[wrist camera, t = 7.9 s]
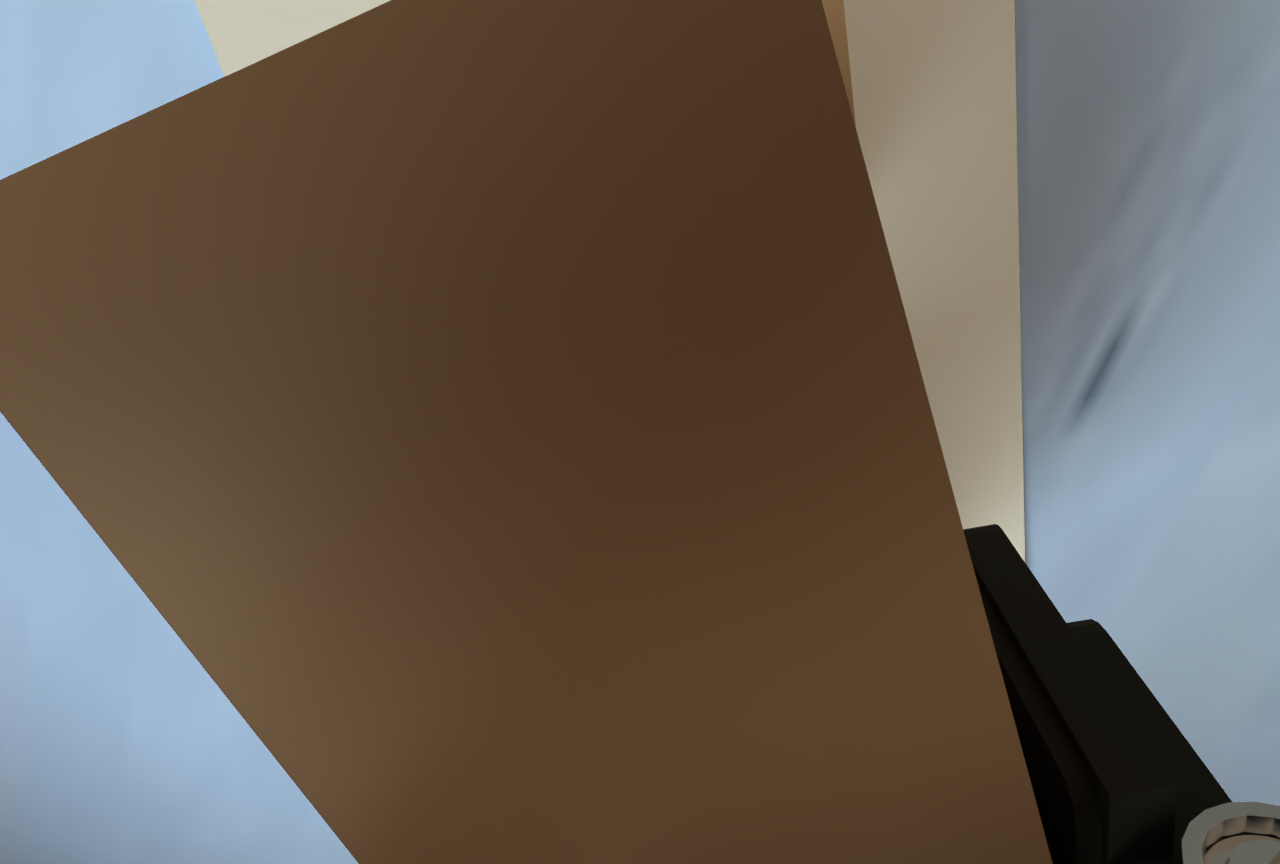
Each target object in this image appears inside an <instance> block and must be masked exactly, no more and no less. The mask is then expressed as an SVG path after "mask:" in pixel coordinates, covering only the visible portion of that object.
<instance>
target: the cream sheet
mask: <svg viewBox="0 0 1280 864" xmlns="http://www.w3.org/2000/svg"><path fill="white" fill-rule="evenodd" d="M388 1H390V0H195V3H196V5H197V8H198V10H199V13H200V16H201V18H202V21H203V23H204V26H205V28H206V31H207V33H208V36H209V38H210V41H211V43H212V46H213V48H214V51H215V53H216V56H217V58H218V61H219V64H220V66H221V69H222V71H223V74H224V76H227V75H230V74H232V73H234V72H236V71H238V70H241V69H243V68H245V67H247V66H249V65H251V64H254V63H256V62H258V61H260V60H262V59H264V58H267V57H269V56H271V55H273V54H275V53H277V52H280V51H282V50H284V49H286V48H288V47H290V46H293V45H295V44H297V43H299V42H301V41H303V40H306V39H308V38H310V37H312V36H314V35H317V34H319V33H321V32H323V31H325V30H327V29H330V28H332V27H334V26H336V25H338V24H340V23H343V22H345V21H347V20H349V19H351V18H353V17H356V16H358V15H360V14H362V13H364V12H366V11H369V10H371V9H373V8H375V7H377V6H379V5H382V4H384V3H386V2H388ZM844 10H845V21H846V31H847V41H848V51H849V62H850V72H851V82H852V93H853V103H854V113H855V123H856V131H857V135H858V138H859V142H860V146H861V150H862V153H863V157H864V161H865V165H866V168H867V172H868V176H869V180H870V183H871V187H872V191H873V195H874V198H875V202H876V206H877V209H878V213H879V217H880V221H881V224H882V228H883V232H884V236H885V239H886V243H887V247H888V251H889V254H890V258H891V262H892V265H893V269H894V273H895V277H896V280H897V284H898V288H899V292H900V295H901V299H902V303H903V307H904V310H905V314H906V318H907V322H908V325H909V329H910V333H911V336H912V340H913V344H914V348H915V351H916V355H917V359H918V363H919V366H920V370H921V374H922V378H923V381H924V385H925V389H926V393H927V396H928V400H929V404H930V407H931V411H932V415H933V419H934V422H935V426H936V430H937V434H938V437H939V441H940V445H941V449H942V452H943V456H944V460H945V464H946V467H947V471H948V475H949V478H950V482H951V486H952V490H953V493H954V497H955V501H956V505H957V508H958V512H959V516H960V520H961V523H962V527H963V529H969V528H974V527H980V526H986V525H992V524H997V525H999V526H1000V527H1001V529H1002V530H1003V531H1004V533H1005V534H1006V536H1007V537H1008V538H1009V540H1010V541H1011V543H1012V544H1013V546H1014V547H1015V549H1016V550H1017V552H1018V553H1019V555H1020V556H1021V558H1022V559H1023V560H1024V562H1025V534H1024V481H1023V428H1022V375H1021V322H1020V269H1019V216H1018V163H1017V110H1016V57H1015V4H1014V0H844Z"/></svg>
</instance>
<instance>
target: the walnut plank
mask: <svg viewBox="0 0 1280 864" xmlns="http://www.w3.org/2000/svg"><path fill="white" fill-rule="evenodd" d="M0 412H1V413H2V414H3V415H4V417H5V418H6V419H7V421H8V422H9V423H10V424H11V426H12V427H13V428H14V429H15V431H16V432H17V433H18V434H19V436H20V437H21V438H22V439H23V441H24V442H25V443H26V444H27V446H28V447H29V448H30V450H31V451H32V452H33V453H34V455H35V456H36V457H37V458H38V460H39V461H40V462H41V463H42V465H43V466H44V467H45V468H46V470H47V471H48V472H49V473H50V475H51V476H52V477H53V479H54V480H55V481H56V482H57V484H58V485H59V486H60V487H61V489H62V490H63V491H64V492H65V494H66V495H67V496H68V497H69V499H70V500H71V501H72V502H73V504H74V505H75V506H76V508H77V509H78V510H79V511H80V513H81V514H82V515H83V516H84V518H85V519H86V520H87V521H88V523H89V524H90V525H91V526H92V528H93V529H94V530H95V531H96V533H97V534H98V535H99V537H100V538H101V539H102V540H103V542H104V543H105V544H106V545H107V547H108V548H109V549H110V550H111V552H112V553H113V554H114V555H115V557H116V558H117V559H118V561H119V562H120V563H121V564H122V566H123V567H124V568H125V569H126V571H127V572H128V573H129V574H130V576H131V577H132V578H133V579H134V581H135V582H136V583H137V584H138V586H139V587H140V588H141V590H142V591H143V592H144V593H145V595H146V596H147V597H148V598H149V600H150V601H151V602H152V603H153V605H154V606H155V607H156V608H157V610H158V611H159V612H160V613H161V615H162V616H163V617H164V619H165V620H166V621H167V622H168V624H169V625H170V626H171V627H172V629H173V630H174V631H175V632H176V634H177V635H178V636H179V637H180V639H181V640H182V641H183V642H184V644H185V645H186V646H187V648H188V649H189V650H190V651H191V653H192V654H193V655H194V656H195V658H196V659H197V660H198V661H199V663H200V664H201V665H202V666H203V668H204V669H205V670H206V671H207V673H208V674H209V675H210V677H211V678H212V679H213V680H214V682H215V683H216V684H217V685H218V687H219V688H220V689H221V690H222V692H223V693H224V694H225V695H226V697H227V698H228V699H229V700H230V702H231V703H232V704H233V706H234V707H235V708H236V709H237V711H238V712H239V713H240V714H241V716H242V717H243V718H244V719H245V721H246V722H247V723H248V724H249V726H250V727H251V728H252V729H253V731H254V732H255V733H256V735H257V736H258V737H259V738H260V740H261V741H262V742H263V743H264V745H265V746H266V747H267V748H268V750H269V751H270V752H271V753H272V755H273V756H274V757H275V758H276V760H277V761H278V762H279V764H280V765H281V766H282V767H283V769H284V770H285V771H286V772H287V774H288V775H289V776H290V777H291V779H292V780H293V781H294V782H295V784H296V785H297V786H298V787H299V789H300V790H301V791H302V793H303V794H304V795H305V796H306V798H307V799H308V800H309V801H310V803H311V804H312V805H313V806H314V808H315V809H316V810H317V811H318V813H319V814H320V815H321V816H322V818H323V819H324V820H325V822H326V823H327V824H328V825H329V827H330V828H331V829H332V830H333V832H334V833H335V834H336V835H337V837H338V838H339V839H340V840H341V842H342V843H343V844H344V846H345V847H346V848H347V849H348V851H349V852H350V853H351V854H352V856H353V857H354V858H355V859H356V861H357V862H358V863H359V864H1053V863H1052V860H1051V856H1050V852H1049V848H1048V845H1047V841H1046V837H1045V833H1044V830H1043V826H1042V822H1041V818H1040V815H1039V811H1038V807H1037V803H1036V800H1035V796H1034V792H1033V789H1032V785H1031V781H1030V777H1029V774H1028V770H1027V766H1026V762H1025V759H1024V755H1023V751H1022V747H1021V744H1020V740H1019V736H1018V733H1017V729H1016V725H1015V721H1014V718H1013V714H1012V710H1011V706H1010V703H1009V699H1008V695H1007V691H1006V688H1005V684H1004V680H1003V676H1002V673H1001V669H1000V665H999V662H998V658H997V654H996V650H995V647H994V643H993V639H992V635H991V632H990V628H989V624H988V620H987V617H986V613H985V609H984V605H983V602H982V598H981V594H980V591H979V587H978V583H977V579H976V576H975V572H974V568H973V564H972V561H971V557H970V553H969V549H968V546H967V542H966V538H965V534H964V531H963V527H962V523H961V520H960V516H959V512H958V508H957V505H956V501H955V497H954V493H953V490H952V486H951V482H950V478H949V475H948V471H947V467H946V464H945V460H944V456H943V452H942V449H941V445H940V441H939V437H938V434H937V430H936V426H935V422H934V419H933V415H932V411H931V407H930V404H929V400H928V396H927V393H926V389H925V385H924V381H923V378H922V374H921V370H920V366H919V363H918V359H917V355H916V351H915V348H914V344H913V340H912V336H911V333H910V329H909V325H908V322H907V318H906V314H905V310H904V307H903V303H902V299H901V295H900V292H899V288H898V284H897V280H896V277H895V273H894V269H893V265H892V262H891V258H890V254H889V251H888V247H887V243H886V239H885V236H884V232H883V228H882V224H881V221H880V217H879V213H878V209H877V206H876V202H875V198H874V195H873V191H872V187H871V183H870V180H869V176H868V172H867V168H866V165H865V161H864V157H863V153H862V150H861V146H860V142H859V138H858V135H857V131H856V127H855V124H854V120H853V116H852V112H851V109H850V105H849V101H848V97H847V94H846V90H845V86H844V82H843V79H842V75H841V71H840V67H839V64H838V60H837V56H836V53H835V49H834V45H833V41H832V38H831V34H830V30H829V26H828V23H827V19H826V15H825V11H824V8H823V4H822V0H390V1H388V2H386V3H384V4H382V5H379V6H377V7H375V8H373V9H371V10H369V11H366V12H364V13H362V14H360V15H358V16H356V17H353V18H351V19H349V20H347V21H345V22H343V23H340V24H338V25H336V26H334V27H332V28H330V29H327V30H325V31H323V32H321V33H319V34H317V35H314V36H312V37H310V38H308V39H306V40H303V41H301V42H299V43H297V44H295V45H293V46H290V47H288V48H286V49H284V50H282V51H280V52H277V53H275V54H273V55H271V56H269V57H267V58H264V59H262V60H260V61H258V62H256V63H254V64H251V65H249V66H247V67H245V68H243V69H241V70H238V71H236V72H234V73H232V74H230V75H227V76H225V77H223V78H221V79H219V80H217V81H214V82H212V83H210V84H208V85H206V86H204V87H201V88H199V89H197V90H195V91H193V92H191V93H188V94H186V95H184V96H182V97H180V98H178V99H175V100H173V101H171V102H169V103H167V104H165V105H162V106H160V107H158V108H156V109H154V110H151V111H149V112H147V113H145V114H143V115H141V116H138V117H136V118H134V119H132V120H130V121H128V122H125V123H123V124H121V125H119V126H117V127H115V128H112V129H110V130H108V131H106V132H104V133H102V134H99V135H97V136H95V137H93V138H91V139H89V140H86V141H84V142H82V143H80V144H78V145H75V146H73V147H71V148H69V149H67V150H65V151H62V152H60V153H58V154H56V155H54V156H52V157H49V158H47V159H45V160H43V161H41V162H39V163H36V164H34V165H32V166H30V167H28V168H26V169H23V170H21V171H19V172H17V173H15V174H13V175H10V176H8V177H6V178H4V179H2V180H0Z"/></svg>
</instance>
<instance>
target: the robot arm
mask: <svg viewBox="0 0 1280 864" xmlns="http://www.w3.org/2000/svg"><path fill="white" fill-rule="evenodd" d="M963 531H964V534H965V538H966V542H967V546H968V549H969V553H970V557H971V561H972V564H973V568H974V572H975V576H976V579H977V583H978V587H979V591H980V594H981V598H982V602H983V605H984V609H985V613H986V617H987V620H988V624H989V628H990V632H991V635H992V639H993V643H994V647H995V650H996V654H997V658H998V662H999V665H1000V669H1001V673H1002V676H1003V680H1004V684H1005V688H1006V691H1007V695H1008V699H1009V703H1010V706H1011V710H1012V714H1013V718H1014V721H1015V725H1016V729H1017V733H1018V736H1019V740H1020V744H1021V747H1022V751H1023V755H1024V759H1025V762H1026V766H1027V770H1028V774H1029V777H1030V781H1031V785H1032V789H1033V792H1034V796H1035V800H1036V803H1037V807H1038V811H1039V815H1040V818H1041V822H1042V826H1043V830H1044V833H1045V837H1046V841H1047V845H1048V848H1049V852H1050V856H1051V860H1052V863H1053V864H1280V806H1276V805H1271V804H1265V803H1260V802H1232V801H1231V800H1230V798H1229V797H1228V796H1227V794H1226V793H1225V792H1224V790H1223V789H1222V787H1221V786H1220V785H1219V783H1218V782H1217V781H1216V779H1215V778H1214V777H1213V775H1212V774H1211V773H1210V771H1209V770H1208V768H1207V767H1206V766H1205V764H1204V763H1203V762H1202V760H1201V759H1200V758H1199V756H1198V755H1197V754H1196V752H1195V751H1194V750H1193V748H1192V747H1191V745H1190V744H1189V743H1188V741H1187V740H1186V739H1185V737H1184V736H1183V735H1182V733H1181V732H1180V731H1179V729H1178V728H1177V726H1176V725H1175V724H1174V722H1173V721H1172V720H1171V718H1170V717H1169V716H1168V714H1167V713H1166V712H1165V710H1164V709H1163V707H1162V706H1161V705H1160V703H1159V702H1158V701H1157V699H1156V698H1155V697H1154V695H1153V694H1152V693H1151V691H1150V690H1149V688H1148V687H1147V686H1146V684H1145V683H1144V682H1143V680H1142V679H1141V678H1140V676H1139V675H1138V674H1137V672H1136V671H1135V669H1134V668H1133V667H1132V665H1131V664H1130V663H1129V661H1128V660H1127V659H1126V657H1125V656H1124V655H1123V653H1122V652H1121V650H1120V649H1119V648H1118V646H1117V645H1116V644H1115V642H1114V641H1113V640H1112V638H1111V637H1110V636H1109V634H1108V633H1107V632H1106V630H1105V629H1104V628H1103V627H1102V626H1101V625H1100V624H1099V623H1098V622H1096V621H1094V620H1092V619H1089V620H1083V621H1077V622H1070V623H1066V622H1065V621H1064V619H1063V618H1062V616H1061V615H1060V613H1059V612H1058V610H1057V609H1056V607H1055V606H1054V604H1053V603H1052V602H1051V600H1050V599H1049V597H1048V596H1047V594H1046V593H1045V591H1044V590H1043V588H1042V587H1041V585H1040V584H1039V582H1038V581H1037V580H1036V578H1035V577H1034V575H1033V574H1032V572H1031V571H1030V569H1029V568H1028V566H1027V565H1026V563H1025V562H1024V560H1023V559H1022V558H1021V556H1020V555H1019V553H1018V552H1017V550H1016V549H1015V547H1014V546H1013V544H1012V543H1011V541H1010V540H1009V538H1008V537H1007V536H1006V534H1005V533H1004V531H1003V530H1002V529H1001V527H1000V526H999V525H997V524H992V525H986V526H980V527H974V528H969V529H963Z"/></svg>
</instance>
